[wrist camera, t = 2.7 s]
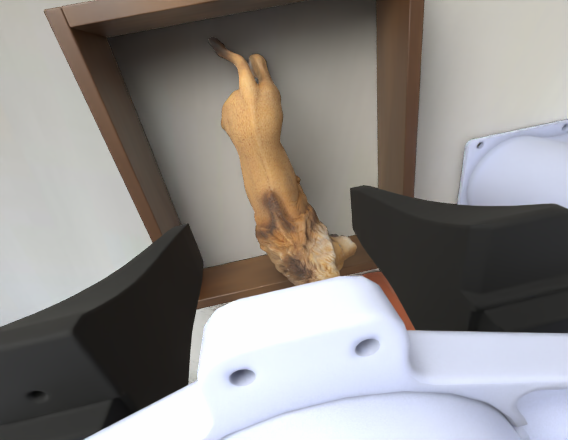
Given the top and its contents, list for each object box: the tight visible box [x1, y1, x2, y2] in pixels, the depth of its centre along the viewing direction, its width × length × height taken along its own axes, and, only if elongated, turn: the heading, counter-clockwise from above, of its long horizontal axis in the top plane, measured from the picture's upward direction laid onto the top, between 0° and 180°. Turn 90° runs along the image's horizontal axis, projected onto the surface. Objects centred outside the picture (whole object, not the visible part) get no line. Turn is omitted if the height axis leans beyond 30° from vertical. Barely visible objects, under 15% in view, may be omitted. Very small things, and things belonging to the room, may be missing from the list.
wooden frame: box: [44, 0, 424, 309], centre depth 19 cm, size 18×19×4 cm
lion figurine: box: [208, 37, 357, 286], centre depth 16 cm, size 15×5×9 cm, turn 25°
